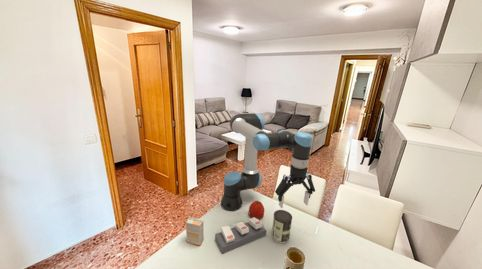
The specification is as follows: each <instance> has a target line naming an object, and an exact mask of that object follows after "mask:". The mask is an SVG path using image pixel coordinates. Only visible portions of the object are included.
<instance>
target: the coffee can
mask: <svg viewBox="0 0 482 269" xmlns="http://www.w3.org/2000/svg"><path fill="white" fill-rule="evenodd" d="M272 221H273V222H272V230H271V237H272V239H273V240H274V241H275V242H277V243H280V244H287V242H289V241H290V236H291V228H292V223H293V222H292V221H293V215H292V213H290V212H289V211H288V210H285V209H277V210H275V211H274V212H273V220H272Z"/></svg>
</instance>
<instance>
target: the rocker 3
mask: <svg viewBox="0 0 482 269" xmlns="http://www.w3.org/2000/svg"><path fill="white" fill-rule="evenodd" d="M247 222H248V223H249V224H250V225H251V226H253V227H254V228H255V229H258V228H260V227H262V224H263V222H262V221H260V219H256V218H255V217H254V218H252V217H250V218H248V219H247Z"/></svg>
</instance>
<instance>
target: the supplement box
mask: <svg viewBox="0 0 482 269" xmlns="http://www.w3.org/2000/svg"><path fill="white" fill-rule="evenodd" d="M204 227H205V226H204V219H200V218H196V217H191V216H190V217H189V218H188V219H187V221H186V222H185V231H186V243H187V244H192V245H195V246H199V247H200V246H201V245H202V243H203V242H204V239H205V236H204V234H205V233H204V231H205V230H204Z"/></svg>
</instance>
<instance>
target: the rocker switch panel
mask: <svg viewBox="0 0 482 269" xmlns="http://www.w3.org/2000/svg"><path fill="white" fill-rule="evenodd" d="M243 223H244V222H243ZM244 224H245V225H246V226H247V227H248V228H249V232H248V233H245V234H241V233H240V232H239V231H238V230H237V229H236V228H235V226H234V227H230V229H231V231H232V233H233V235H234V237H235V239H234V241H232V242H229V243H226V241H225V239H224V236H223V234H222V232H221V231H219V232H217V233H215V234H214V240H215V242H216V244H217V246H218V248H219V250H220V252H221V254H222V255H223V254H225V253H228V252H230V251H233V250H234V249H237V248H240V247H242V246H244V245H247V244H249V243H251V242H254V241H256V240H258V239H261V238H265V237H267V234H268V229H267V228H266V226H265V225H264V224H263V223H262V227H260V228H258V229H255V228H254V227H253V226H251V225H250V224H249V223H248V221H247V222H245V223H244Z"/></svg>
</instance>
